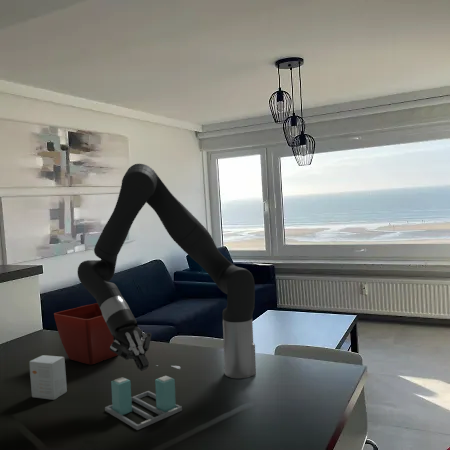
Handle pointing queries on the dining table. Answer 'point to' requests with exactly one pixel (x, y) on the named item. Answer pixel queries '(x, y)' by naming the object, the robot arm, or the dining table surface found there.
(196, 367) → the dining table surface
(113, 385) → the tab
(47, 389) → the small box
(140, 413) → the switch board
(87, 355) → the plant pot
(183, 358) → the dining table surface
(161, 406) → the tab
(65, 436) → the dining table surface
